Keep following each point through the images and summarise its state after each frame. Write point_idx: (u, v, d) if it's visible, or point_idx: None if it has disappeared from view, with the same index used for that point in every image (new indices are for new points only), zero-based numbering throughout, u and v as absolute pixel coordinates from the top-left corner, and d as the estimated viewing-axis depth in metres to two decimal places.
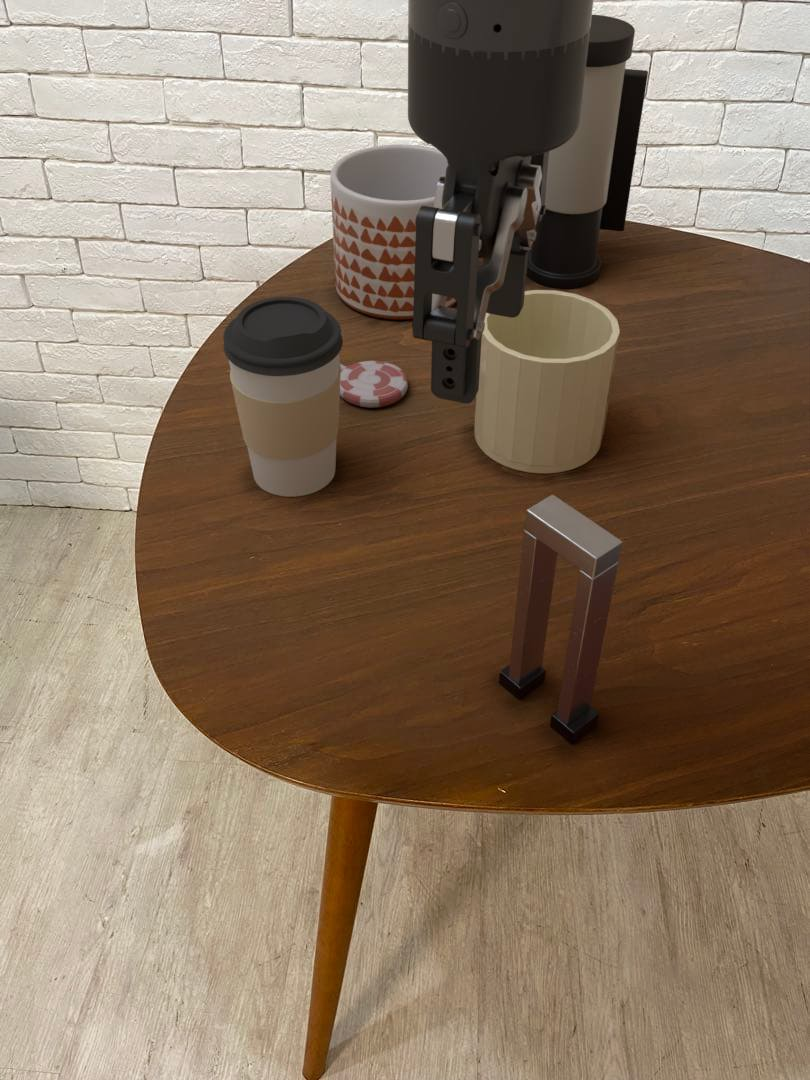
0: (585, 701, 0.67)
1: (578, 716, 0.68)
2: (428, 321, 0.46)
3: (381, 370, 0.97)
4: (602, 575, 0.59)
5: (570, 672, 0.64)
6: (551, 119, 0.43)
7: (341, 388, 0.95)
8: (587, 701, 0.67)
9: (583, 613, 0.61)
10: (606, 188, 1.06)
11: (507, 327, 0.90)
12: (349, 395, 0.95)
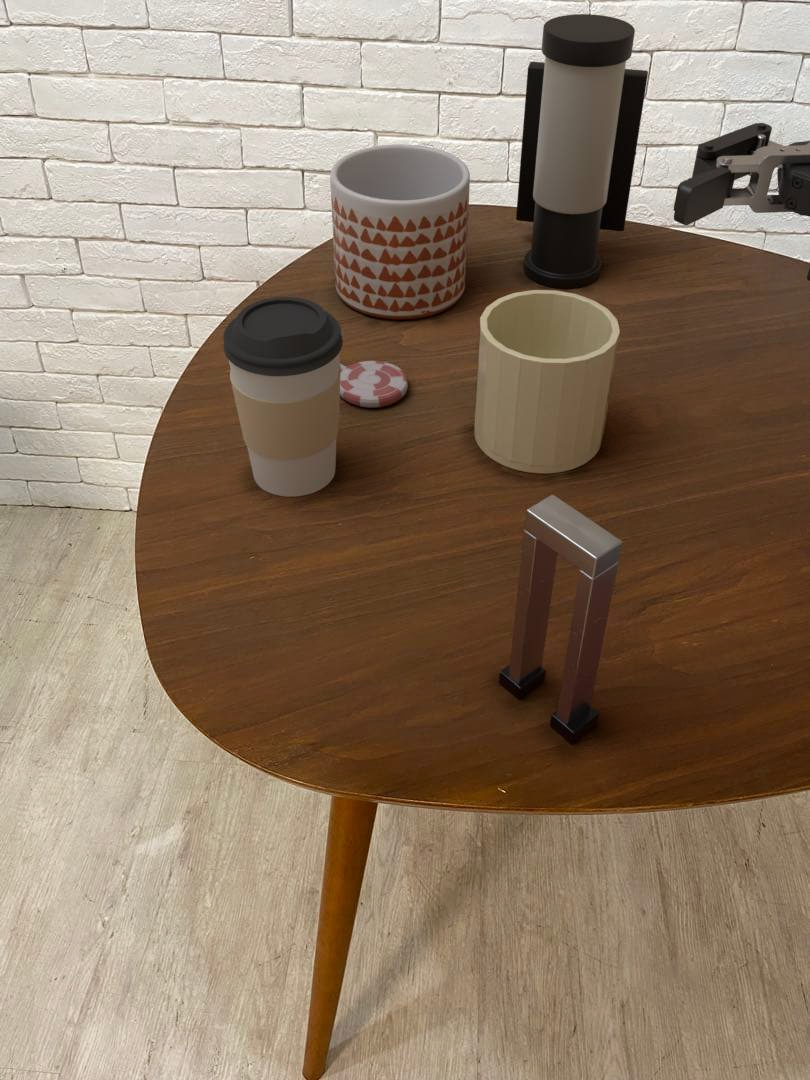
0: (585, 701, 0.67)
1: (578, 716, 0.68)
2: None
3: (381, 370, 0.97)
4: (602, 575, 0.59)
5: (570, 672, 0.64)
6: None
7: (341, 388, 0.95)
8: (587, 701, 0.67)
9: (583, 613, 0.61)
10: (606, 188, 1.06)
11: (507, 327, 0.90)
12: (349, 395, 0.95)
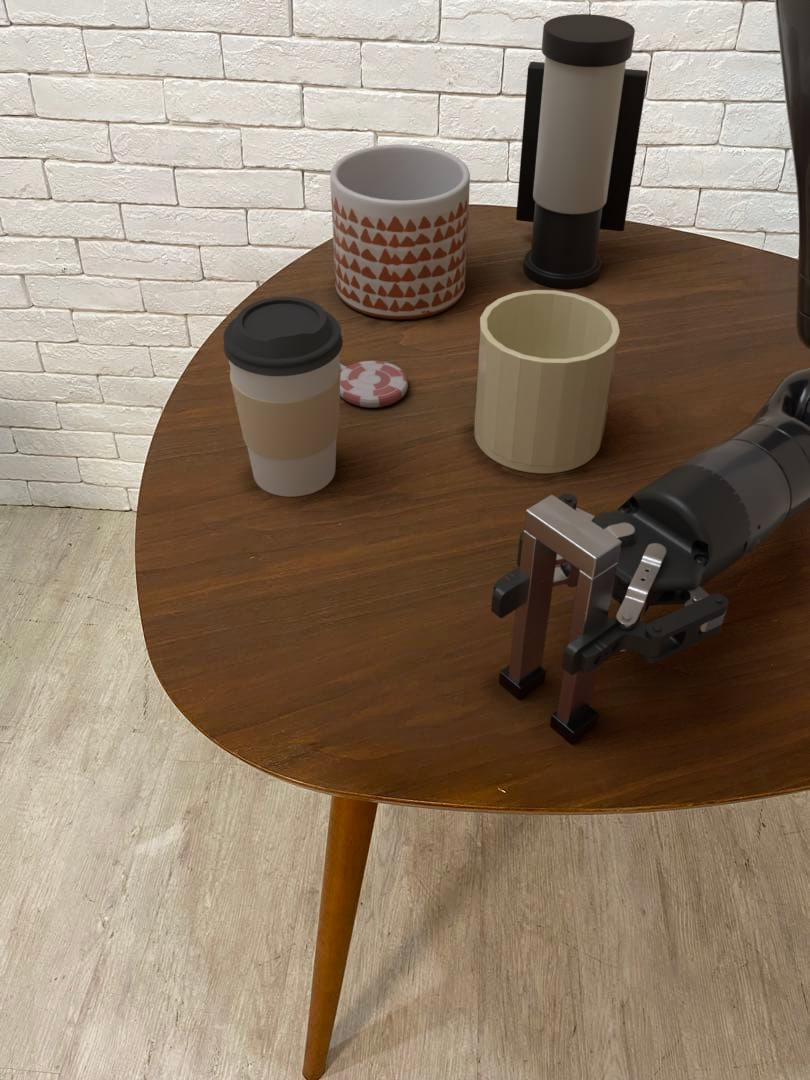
0: (584, 701, 0.67)
1: (578, 716, 0.68)
2: None
3: (381, 370, 0.97)
4: (602, 575, 0.59)
5: None
6: (658, 482, 0.69)
7: (341, 388, 0.95)
8: (586, 702, 0.67)
9: (583, 613, 0.61)
10: (606, 188, 1.06)
11: (507, 327, 0.90)
12: (349, 395, 0.95)
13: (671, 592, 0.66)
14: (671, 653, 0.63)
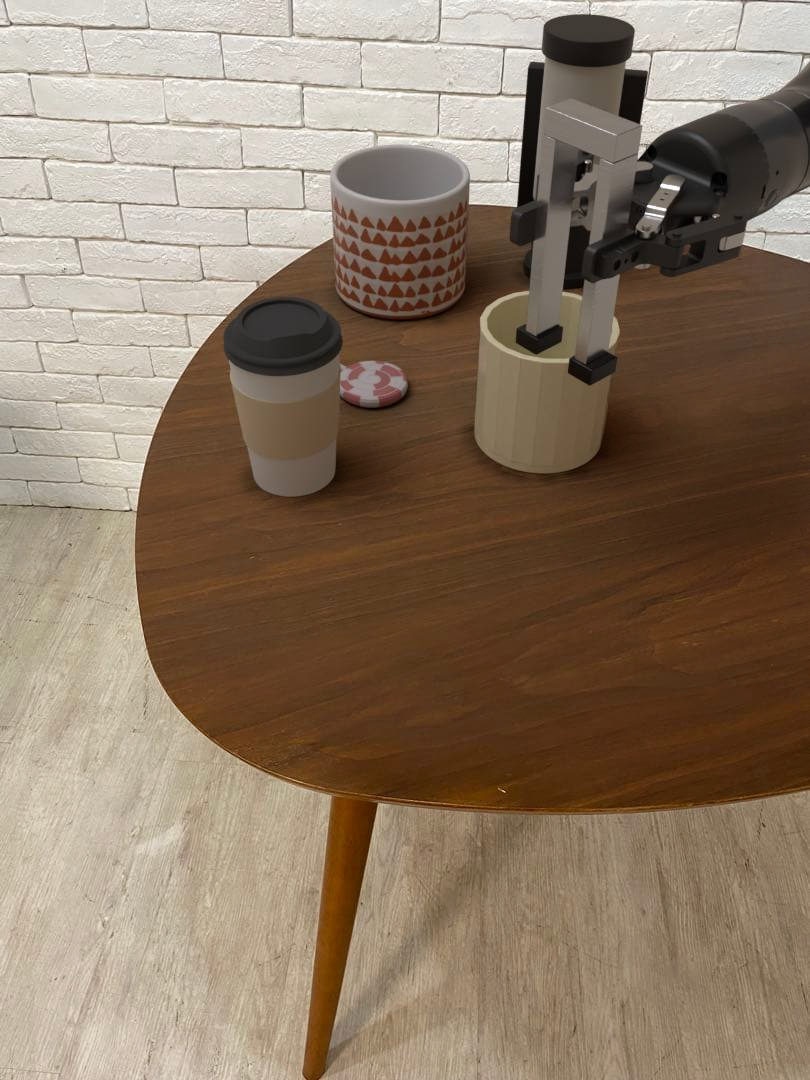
0: (603, 340, 0.67)
1: (597, 358, 0.68)
2: None
3: (381, 370, 0.97)
4: (622, 164, 0.59)
5: (588, 295, 0.64)
6: None
7: (341, 388, 0.95)
8: (605, 342, 0.67)
9: (603, 212, 0.60)
10: None
11: (507, 327, 0.90)
12: (349, 395, 0.95)
13: (690, 224, 0.66)
14: (691, 268, 0.63)
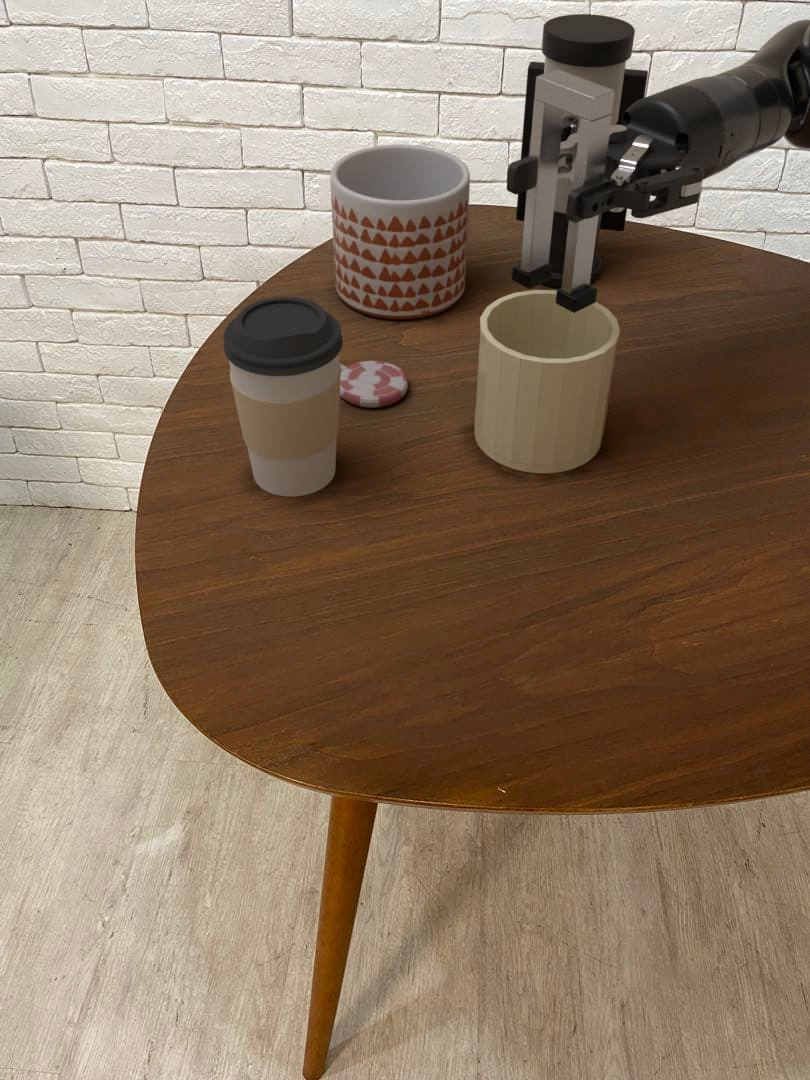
0: (585, 274, 0.80)
1: (580, 290, 0.81)
2: None
3: (381, 370, 0.97)
4: (599, 122, 0.72)
5: (572, 234, 0.77)
6: None
7: (341, 388, 0.95)
8: (586, 275, 0.80)
9: (583, 163, 0.73)
10: None
11: (507, 327, 0.90)
12: (349, 395, 0.95)
13: None
14: (657, 211, 0.76)
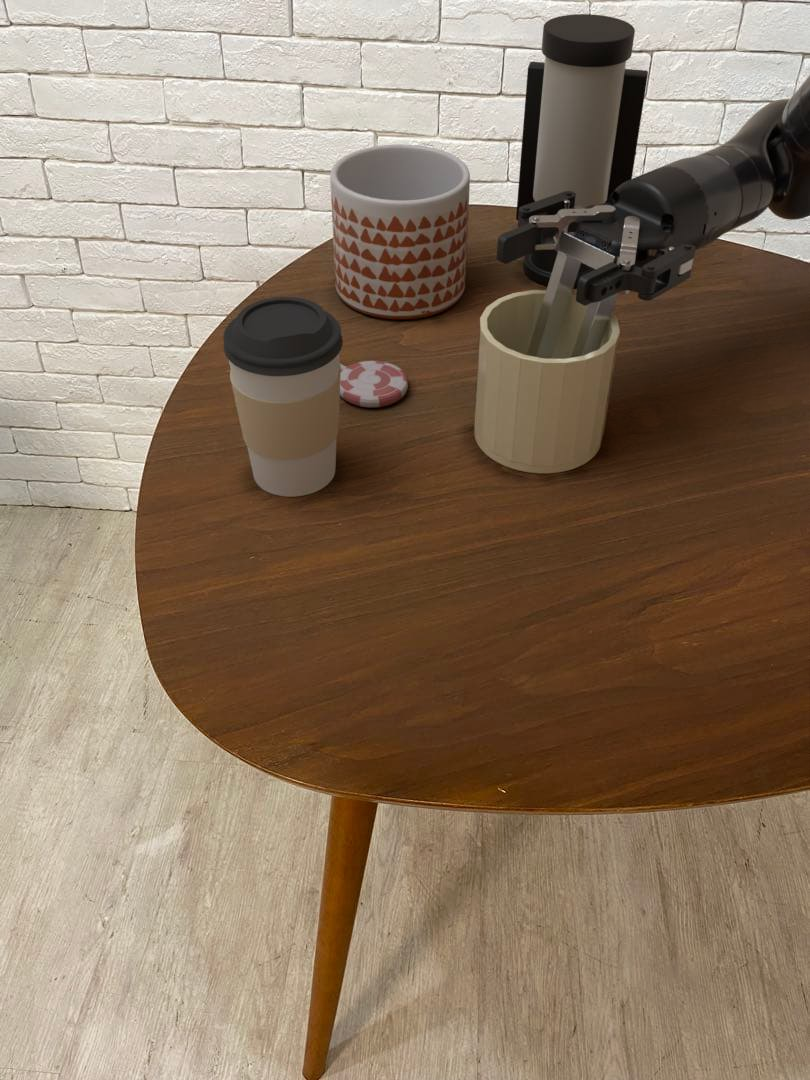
0: None
1: None
2: None
3: (381, 370, 0.97)
4: None
5: None
6: None
7: (341, 388, 0.95)
8: None
9: (594, 310, 0.84)
10: (606, 188, 1.06)
11: (507, 327, 0.90)
12: (349, 395, 0.95)
13: (644, 255, 0.83)
14: (661, 291, 0.80)
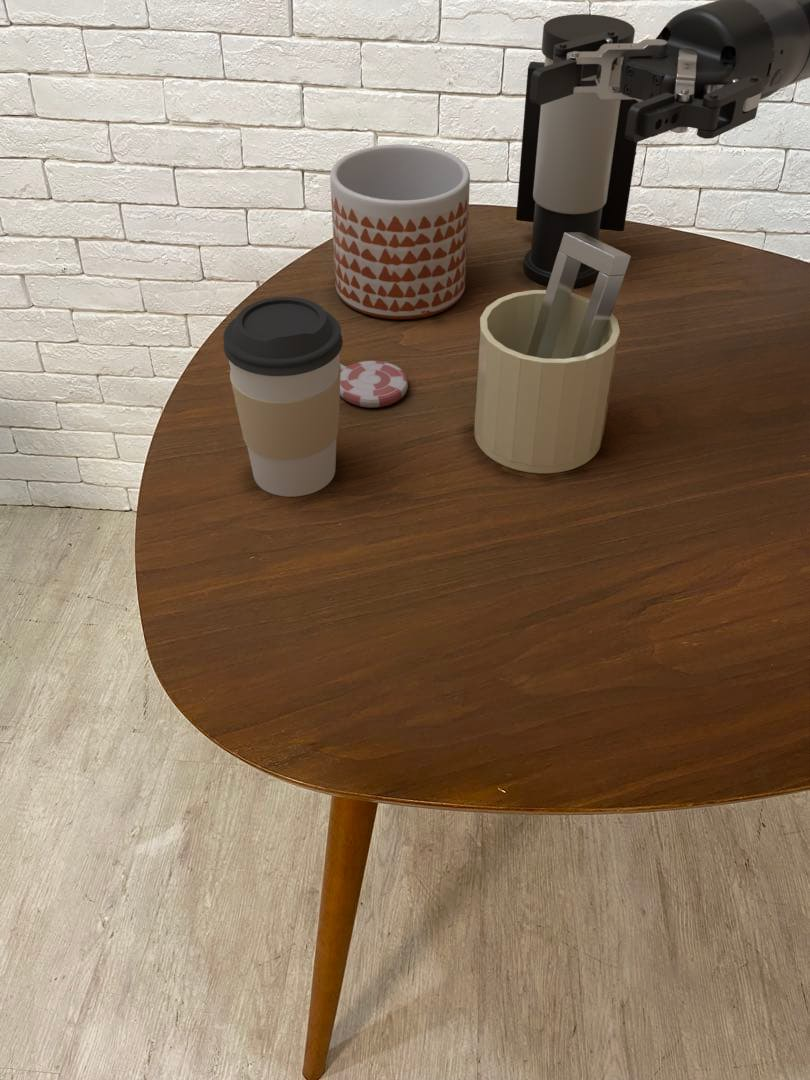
0: None
1: None
2: None
3: (381, 370, 0.97)
4: (613, 279, 0.83)
5: None
6: None
7: (341, 388, 0.95)
8: None
9: (594, 310, 0.84)
10: (606, 188, 1.06)
11: (507, 327, 0.90)
12: (349, 395, 0.95)
13: (701, 94, 0.71)
14: (724, 129, 0.68)
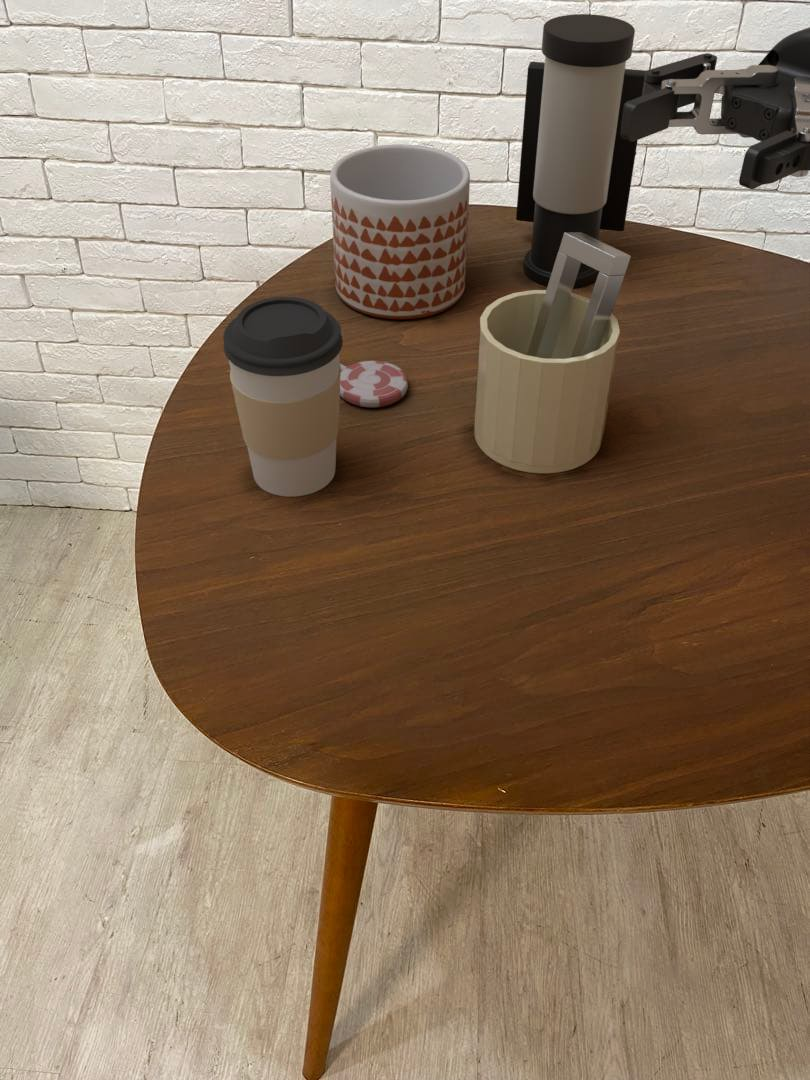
0: None
1: None
2: None
3: (381, 370, 0.97)
4: (613, 279, 0.83)
5: None
6: None
7: (341, 388, 0.95)
8: None
9: (594, 310, 0.84)
10: (606, 188, 1.06)
11: (507, 327, 0.90)
12: (349, 395, 0.95)
13: None
14: None
